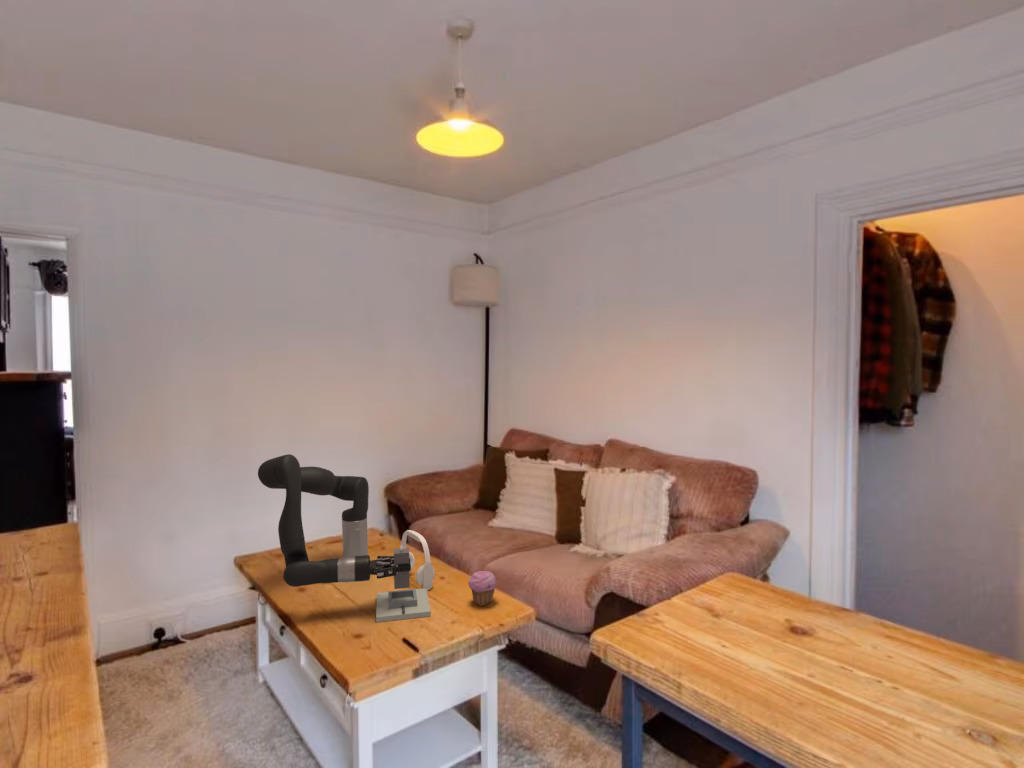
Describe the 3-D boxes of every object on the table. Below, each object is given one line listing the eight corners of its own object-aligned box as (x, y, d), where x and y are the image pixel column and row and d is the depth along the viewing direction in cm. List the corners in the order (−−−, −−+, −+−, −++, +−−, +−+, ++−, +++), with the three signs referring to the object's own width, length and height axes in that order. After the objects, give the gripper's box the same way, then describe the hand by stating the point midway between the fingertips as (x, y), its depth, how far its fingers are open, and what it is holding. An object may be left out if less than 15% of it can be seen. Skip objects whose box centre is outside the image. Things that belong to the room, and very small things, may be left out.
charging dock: (376, 597, 185) (376, 587, 185) (426, 592, 189) (426, 582, 189) (376, 622, 168) (375, 610, 168) (430, 616, 171) (430, 604, 171)
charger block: (394, 583, 180) (393, 544, 179) (408, 582, 181) (408, 543, 180) (394, 589, 175) (393, 549, 175) (409, 587, 176) (409, 548, 176)
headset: (438, 589, 191) (437, 537, 190) (419, 595, 187) (418, 541, 186) (411, 572, 207) (410, 523, 207) (393, 576, 203) (392, 527, 203)
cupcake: (464, 601, 181) (463, 570, 181) (486, 594, 187) (486, 564, 186) (479, 611, 174) (478, 579, 174) (502, 603, 179) (501, 572, 179)
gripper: (352, 564, 167) (411, 560, 171) (354, 549, 181) (409, 545, 185) (353, 590, 168) (411, 584, 171) (355, 572, 182) (409, 568, 185)
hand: (410, 564), depth 178 cm, fingers closed on charger block, 4 cm apart
